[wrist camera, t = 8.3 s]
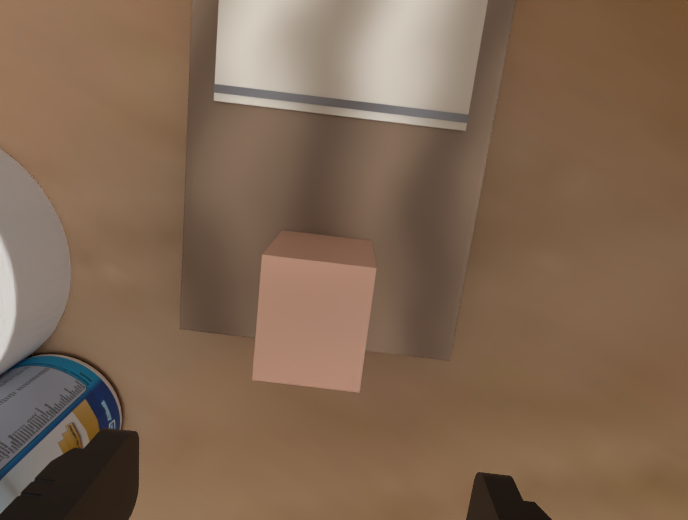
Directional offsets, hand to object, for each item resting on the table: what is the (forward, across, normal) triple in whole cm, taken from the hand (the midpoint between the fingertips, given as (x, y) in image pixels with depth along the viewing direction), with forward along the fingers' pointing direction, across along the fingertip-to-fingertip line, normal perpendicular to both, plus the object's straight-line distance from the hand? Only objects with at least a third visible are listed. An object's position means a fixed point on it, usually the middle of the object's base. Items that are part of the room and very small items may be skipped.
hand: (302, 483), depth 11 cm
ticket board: (+18, +1, -8) cm, 20 cm away
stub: (+17, +1, 0) cm, 17 cm away
